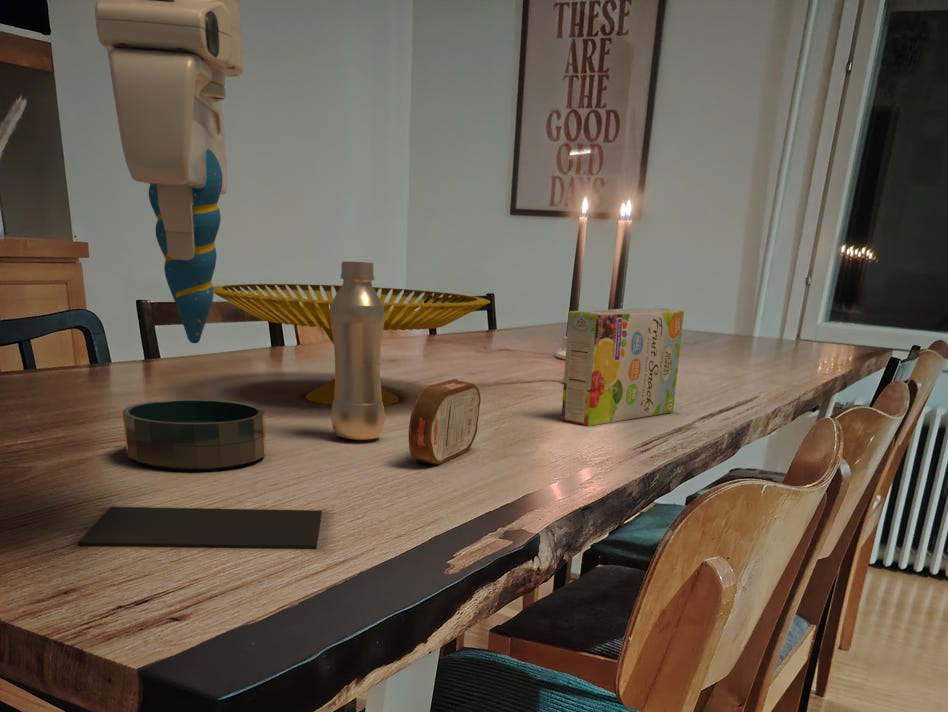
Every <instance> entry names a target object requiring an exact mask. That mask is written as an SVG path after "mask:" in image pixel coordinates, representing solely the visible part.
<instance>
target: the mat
mask: <svg viewBox="0 0 948 712" xmlns="http://www.w3.org/2000/svg"><path fill="white" fill-rule="evenodd" d="M322 516H323V511H322V510H315V509H314V510H311V509H310V510H309V509H307V510H306V509H305V510H304V509H302V510H301V509H255V508H254V509H252V508H251V509H249V508H247V509H246V508H202V507H201V508H200V507H199V508H198V507H197V508H195V507H191V508H190V507H143V506H142V507H141V506H139V507H137V506H128V507H127V506H110V507H109V508H108V509H107V510H106V511H105V512H104V513H103V515H102V516H101V517H99V518H98V520H97V521H96V522H95V523H94V524H93V525H92V526H91V527H90V529H88V531H87V532H86V533H85V534H84V535H83V536H82V537H81V538H80V540H78V542H77V546H78V547H102V548H103V547H106V548H107V547H110V548H111V547H113V548H114V547H115V548H119V547H120V548H183V549H184V548H185V549H186V548H187V549H189V548H194V549H264V550H266V549H268V550H270V549H271V550H272V549H274V550H275V549H276V550H278V549H279V550H317V548H318V541H319V534H320V528H321V524H322V523H321V522H322Z"/></svg>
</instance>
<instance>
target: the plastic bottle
mask: <svg viewBox="0 0 948 712" xmlns="http://www.w3.org/2000/svg"><path fill="white" fill-rule="evenodd" d="M340 266H341V270H340V271H341V274H340V279H342V285H341V286H342V287H341V288H340V289H339V291H338V292H337V294H336V293H335V295H334V296H333V301H332V303H331V307H330V306H329V310H330V319H331V327H332V334H333V341H334V344H333V351H334V359H335V358H336V361H335V360H334V363H335V364H334V369H335V368H336V373H335V372H334V379H335V389H334V397H335V398H334V399H333V404H332V405H331V412H330V420H331V425H332V430H333V432H334V433H335V435H336V436H338V437H341V438H344V439H347V440H352V441H368V440H373V439H378V438H380V437H381V435H382V433H383V432H384V429H385V423H386V415H385V407H384V406H385V405H383V401H382V400H381V399H382V395H381V387H382V382H381V362H380V361H381V358H382V357H381V355H382V342H383V335H384V330H383V328H384V321H385V311H384V307H383V304H382V302H381V300H380V296H379V295H378V292H377V293H376V292H375V290H374V289H373V287H374V286H373V283H372V281H375V275H374V262H365V261H347V260H346V261H341V265H340Z"/></svg>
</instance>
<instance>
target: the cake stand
mask: <svg viewBox="0 0 948 712" xmlns="http://www.w3.org/2000/svg"><path fill="white" fill-rule="evenodd" d="M287 287H288V288H289V289H290V291H291V292H292V293H293V294H294V295H295V296H296V297H294V296H293V295H292V293H290V291H289V289H288V288H287ZM298 287H299V288H298ZM309 287H310V288H311V289H312V291H313V293H314V295H315V296H316V298H317V299H315V298H313V295H312V293H311V291H310V288H309ZM341 287H342V285H338V284H337V285H336V284H306V283H305V284H303V283H298V284H297V283H244V284H243V283H240V284H224V285H223V284H222V285H215V286H213V292H214V293H213V294H215V295H216V296H218V297H220V298H222V299H224V300H225V301H227V302H229V303H231V304H232V305H234V306H236V307H237V308H239V309H241V310H243V311H244V312H246V313H248V314H250V315H252V316H253V317H255V318H257V319H259V320H261V321H264V322H268V323H273V324H280V325H286V326H287V325H289V326H291V325H292V326H300V327H309V328H316V327H317V328H319V329H321V328H322V329H323V331H324V332H325V334H326V335H327V337H328V338H329V340H330V341H331V343H332V345H334V341H333V334H332V327H331V319H330V307H331V303H332V301H333V299H334V296H333V291H332V290H333V289H332V288H334V291H335V295H336V294H337V292H338V291H339V289H340V288H341ZM372 287H373V289H374V290H375V292H376V293H377V294H378V292H379V291H381V292H380V296H379V298H380V300H381V302H382V304H383V307H384V311H385V321H384V328H383V331H389V330H392V331H398V330H400V331H406V330H407V331H413V330H417V331H419V330H432V329H439V328H442V327H445V326H447V325H449V324H451V323H453V322H455V321H457V320H459V319H461V318H463V317H465V316H467V315H469V314H471V313H473V312H474V311H477V310H479V309H481V308H482V307H484V306H487V305H489V304H490V303H491V300H489V299H487V298H484V297H479V296H473V295H466V294H460V293H451V292H443V291H432V290H420V289H407V288H396V287H395V288H392V287H391V288H390V287H380V286H379V287H377V286H372ZM278 288H279V290H280V291H282V293H284V294H285V295H286V296H284V295H282V293H281V292H280V291H279V290H278ZM321 288H322V289H323V291H324V293H325V296H326V299H324V296H323V295H322V292H321ZM259 289H260V290H259ZM299 289H301V291H302V292H303V293H304V295H305V296H306V298H304V296H303V295H302V294H301V292H300V291H299ZM261 290H262V292H261ZM270 290H271V291H272V292H273V293H274V294H275V295H276V296H275V295H274V294H273V293H272V292H271V291H270ZM391 290H392V293H391V295H390V298H389V300H388V302H385V300H386V298H387V296H388V295H389V293H390V292H391ZM263 292H264V293H265V294H266V295H265V294H264V293H263ZM400 293H402V295H401V297H400V299H399V300H398V302H396V299H397V297H398V296H399V295H400ZM412 293H413V294H412ZM411 294H412V296H411V297H410V299H409V300H408V301H407V302H405V301H406V300H407V299H408V298H409V296H410V295H411ZM422 294H423V296H422V297H421V298H420V296H421V295H422ZM430 296H432V297H431V298H430V299H429V300H427V299H428V298H429V297H430ZM441 296H442V297H441ZM439 297H440V298H439ZM418 298H420V299H419V300H418V301H417V302H416V300H417V299H418ZM438 298H439V300H438V301H436V300H437V299H438ZM426 300H427V302H425V301H426ZM454 300H455V301H454ZM435 301H436V302H435ZM444 301H445V302H444ZM391 308H392V309H391ZM335 361H336V358H335V357H334V362H335ZM335 373H336V368H335V367H334V374H335ZM334 389H335V378H334V379H332V380H330V381H328V382H327V383H325V384H323V385H321V386H319V387H317V388H316V389H314V390H312V391H310V392H308V393H306V394H305V399H307V400H308V401H310V402H314V403H318V404H323V405H330V406H332V404H333V399H334V398H335V397H334ZM381 395H382V399H381V400H382V401H383V406H387V405H392V404H393V405H394V404H396V403H398V402H399V401H400V398H399V397H398V396H397V395H395V394H394V393H392V392H390V391H388V390H387V389H385V388H384V387H382V386H381Z"/></svg>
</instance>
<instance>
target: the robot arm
mask: <svg viewBox="0 0 948 712" xmlns="http://www.w3.org/2000/svg"><path fill="white" fill-rule="evenodd" d="M240 2H241V1H240V0H98V1H97V2H96V4H95V7H94V16H95V26H96V27H95V28H96V34H97V35H96V36H97V39H98V42H99V43H100V45H102V47H104V48H105V49H106V52H107V60H108V61H109V69H110V77H111V85H112V92H113V98H114V99H113V100H114V105H115V111H116V112H115V113H116V118H117V124H118V130H119V135H120V142H121V148H122V153H123V156H124V159H125V163H126V166H127V168H128V172H129V174H130V177H131V178H132V180H133V181H135V182H139V183H143V184H147V185H150V184H151V185H156V186H157V193H158V205H159V209H160V213H161V216H162V220H163V224H164V228H165V231H166V241H167V253H168V255H169V257H170V258H172V259H173V260H192V259H194V258H195V257H196V255H197V249H196V233H194V227H193V213H192V206H193V192H192V187H193V188H197V189H202V188H204V187H205V185H206V179H207V173H206V152H207V149H209V150H211V151H212V152H213V153H214V155H215V156H216V158H217V160H218V162H219V164H220V167H221V171H222V177H223V181H222V189H221V193H220V195H225V194H226V193H227V189H228V164H227V162H228V161H227V149H226V148H227V147H226V136H225V124H224V114H223V106H222V105H223V104H222V102H223V101H225V100H226V98H227V97H226V95H227V94H226V88H225V87H226V81H225V80H226V79H227V78H228V79H229V78H233V77H238V76H241V75H242V74H243V73H244V72H243V71H244V69H243V47H242V24H241V23H242V21H241V5H240ZM225 78H226V79H225Z"/></svg>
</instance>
